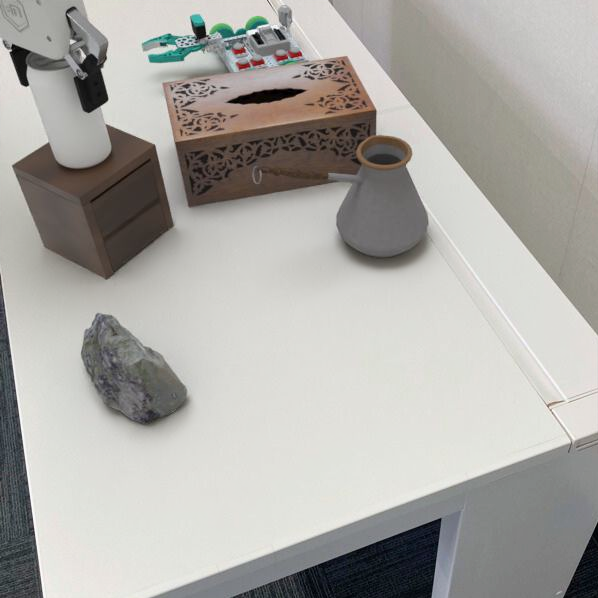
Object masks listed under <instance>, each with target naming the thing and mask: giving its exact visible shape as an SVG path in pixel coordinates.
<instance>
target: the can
mask: <svg viewBox="0 0 598 598" xmlns="http://www.w3.org/2000/svg"><path fill="white" fill-rule="evenodd" d="M71 44H72V43H70V45H71ZM74 54H75V55H76V57H77V58H78V59H79V61H80V62H81V63H82V62H83V61H84V59H85V57H84V56H83V55H82V50H81V49H79V50H77V51H76V52H74ZM26 64H27V65H28V67H27V79H28V82H29V88H30V91H31V94H32V97H33V99H34V103H35V106H36V108H37V112H38V114H39V118H40V120H41V123H42V126H43V129H44V132H45V135H46V137H47V139H48V142H49V143H50V146H51V149H52V151H53V154H54V157H55V159H56V160H57V162H58V163H60V164H61V165H63V166H65V167H67V168H71V169H86V168H90V167H94V166H96V165H98V164H100V163H102V162H103V161H104V160H106V159H107V157H108V156H109V154H110V152H111V143H110V139H109V135H108V131H107V128H106V124H107V123H106V121H105V117H104V114H103V110H102V106H100V107H99V108H97V109H95V110H94V111H92V112H91V113H86V112H84V111H83V109H82V106H81V102H80V99H79V96H78V92H77V89H76V86H75V82H74V79H73V78H74V77H76V76H77V75H76V73H75V72H74V70H73V69H72V68H71V66H70V65H69V64H68V62H67V61H66V59H65V58H64V57H63V58H61V59H59V60H55V59H51V58H48V57H45V56H42V55H40V54H37V53H35V52H30V53H29V54H28V56H27V57H26Z"/></svg>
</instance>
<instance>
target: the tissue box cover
mask: <svg viewBox="0 0 598 598" xmlns="http://www.w3.org/2000/svg"><path fill="white" fill-rule="evenodd" d="M162 88H163V89H162V90H163V93H164V98H165V103H166V107H167V112H168V117H169V121H170V126H171V131H172V136H173V139H174V141H173V142H174V146H175V150H176V155H177V161H178V165H179V169H180V173H181V179H182V182H183V187H184V191H185V196H186V201H187V207H188V208H193V207H198V206H203V205H209V204H215V203H221V202H227V201H233V200H239V199H242V198H249V197H255V196H261V195H267V194H272V193H279V192H283V191H289V190H296V189H302V188H306V187H312V186H319V185H324V184H330V183H336V182H338V181H335V180H328V179H327V180H317V179H295V178H292V177H288V176H284V175H281V174H280V175H279V176H275V175H274V174H273V173H268V174H265V173H262V178H261V182H260V184H255V183H254V181H253V176H252V172H253V168H254V166H264V165H267V166H269V167H274V166H276V165H279V166H280V167H281V168H286V167H300V168H306V169H312V170H318V171H323V172H328V173H336V174H348V175H357V173H358V171H359V170H360V168H361V166H362V164H361V162H360V161H359V160H358V158H357V155H356V150H357V148H358V146H359V145H360V143H361V142H363V141H364V140H365V139H367V138H368V137H370V136H372V135H377V117H378V116H377V114H378V113H377V112H378V111H377V107H375V105H374V102H373V100H372V99H371V97H370V95H369V93H368V91H367V90H366V88H365V86H364V84H363V82H362V81H361V79H360V76H359V75H358V73H357V71H356V69H355V68H354V66H353V64H352V61H351V60H350V58H349V56H348V55H343V56H336V57H330V58H323V59H317V60H309V61H308V62H302V63H295V64H288V65H281V66H274V67H267V68H260V69H254V70H247V71H240V72H233V73H231V72H227V73H220V74H213V75H207V76H206V75H205V76H200V77H192V78H185V79H179V80H171V81H165V82H162ZM254 178H255V182H256V183H258V182H259V179H260V172H259V171H257V167H256V168H255V171H254Z"/></svg>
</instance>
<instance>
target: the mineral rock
mask: <svg viewBox="0 0 598 598" xmlns="http://www.w3.org/2000/svg"><path fill="white" fill-rule="evenodd" d="M80 352H81V353H80V358H81V360H82V362H83V365H84V367H85V372H86V373H87V374H88V375H89V376H91V377H90V382H91V383H93V387H94V388H95V390H97V393H98V395H99V396H100V397H102V400H103V403H104V404H105V405H106V406H107V407H109V408H113V409H115V410H117V411H120V412H122V413H123V414H124V415H125V416H126V417H128V418H129V419H131V420H132V421H135V422H139V423H141V424H142V425H147V424H150V423H151V422H153V421H154V420H155V419H159V418H162V417H166V416H168V415H170V414H172V413H173V412H172V411H174V410H175V411H176V410H177V409H179V407H180V406H181V405H182V404H183V403H184V402H185V400H187V399H186V398H187V394H188V389H187V386H186V385H185V384H184V383H183V382H182V381H181V379H180V378H179V376H178V375H177V374H176V373H175V371H174V370H173V369H172V368H171V366H170V365H169V363H167V361H166V359H165V357H164V356H163V354H162V353H160V352H158V351H155V350H154V349H152V348H151V347H149V346H145V345H143V344H142V342H141V341H140V339H138V338H137V337H136V336H135V335H134V334H132V332H131V331H130V330H129V329H127V328H126V327H124V326H123V325H122V324H121V323H120V322H119V320H118V319H117V318H116V317H115V316H113V314H106V313H101V312H97V313H95V316H94V319H93V320H92V321H91V326H90V327H89V328H86V329H85V330H84V333H83V342H82V346H81V350H80ZM175 411H174V412H175ZM171 412H172V413H171ZM169 413H170V414H169ZM165 415H166V416H165ZM152 420H153V421H152ZM149 422H150V423H149ZM146 423H147V424H146Z"/></svg>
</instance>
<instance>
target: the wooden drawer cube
mask: <svg viewBox="0 0 598 598" xmlns="http://www.w3.org/2000/svg"><path fill="white" fill-rule="evenodd" d="M105 124H106V128H107V131H108V135H109V139H110V143H111V152H110V154H109V156H108V157H107V159H106V160H104V161H103V162H102V163H100V164H98V165H96V166H94V167H90V168H86V169H71V168H67V167H65V166H63V165H61V164H60V163H58V162H57V160H56V159H55V157H54V154H53V151H52V149H51V146H50V143H49V141H48V142H46V143H44V144H43V145H41V146H40V147H39V148H37V149H35V150H34V151H33V152H30V153H29V154H27V155H26V156H24V157H23V158H21V159H19V160H18V161H16V162H15V163H13V164H12V165H11V168H12V170H13V172H14V174H15V177H16V180H17V182H18V184H19V187H20V189H21V192H22V195H23V197H24V199H25V202H26V205H27V207H28V209H29V212H30V215H31V217H32V219H33V222H34V224H35V227H36V230H37V232H38V235H39V237H40V240H41V241H42V244H43V246H44V247H45V248H46V249H48V250H50V251H52V252H54V253H56V254H58V255H60V256H62V257H63V258H66V259H67V260H69V261H72V262H73V263H75V264H77V265H79V266H81V267H83V268H85V269H87V270H89V272H92V273H93V274H96V275H98V276H99V277H101V278H104V279H106V280H108V279H109V278H111V277H112V276H113V275H114V272H115V271H116V270H117V269H119V268H120V267H121V266H122V265H124V264H125V263H126V262H127V261H129V260H130V259H132V257H134V256H135V255H136V254H138V253H139V252H140V251H142V249H144V248H145V247H146V246H148V245H149V244H150V243H152V242H153V241H154V240H155V239H156V238H158V237H159V236H160V235H161V234H162V233H164V232H165V231H169V230H170V229H172V228H174V226H175V224H174V220H173V215H172V212H171V206H170V202H169V199H168V193H167V189H166V185H165V181H164V177H163V172H162V168H161V163H160V159H159V156H158V151H157V146H156V143H155V144H154V143H153V142H150V141H148V140H145V139H143V138H141V137H138V136H136V135H133V134H131V133H128V132H126V131H124V130H122V129H119V128H118V127H114V126H112V125H110V124H107V123H105Z"/></svg>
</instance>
